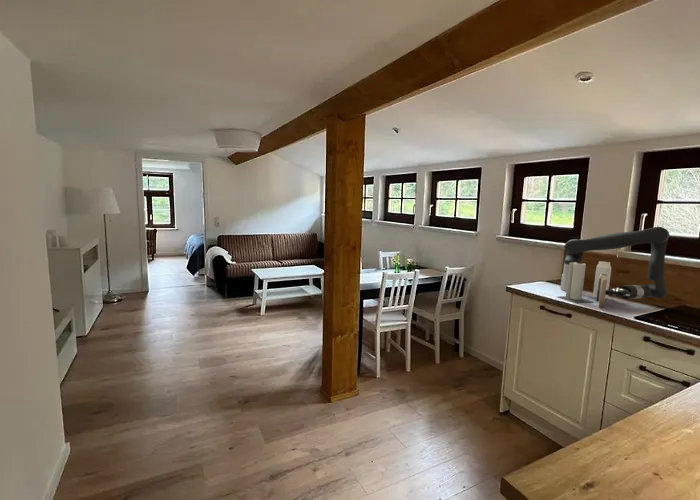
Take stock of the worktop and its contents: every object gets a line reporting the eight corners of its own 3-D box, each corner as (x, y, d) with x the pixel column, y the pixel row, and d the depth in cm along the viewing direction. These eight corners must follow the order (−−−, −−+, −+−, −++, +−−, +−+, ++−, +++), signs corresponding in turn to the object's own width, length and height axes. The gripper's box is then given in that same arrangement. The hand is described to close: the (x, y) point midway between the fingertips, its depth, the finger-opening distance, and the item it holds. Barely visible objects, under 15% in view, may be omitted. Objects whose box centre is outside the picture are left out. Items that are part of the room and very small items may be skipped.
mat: (557, 297, 224) (557, 296, 224) (575, 296, 227) (575, 295, 227) (575, 303, 211) (575, 302, 211) (593, 302, 214) (594, 301, 214)
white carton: (584, 300, 217) (588, 263, 214) (576, 300, 215) (580, 264, 212) (573, 296, 224) (577, 261, 221) (565, 297, 222) (569, 261, 219)
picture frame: (597, 300, 216) (600, 274, 214) (602, 300, 214) (605, 275, 212) (598, 307, 201) (602, 279, 199) (603, 307, 199) (607, 280, 197)
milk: (603, 299, 222) (608, 263, 218) (592, 297, 226) (596, 261, 223) (607, 298, 225) (612, 262, 222) (596, 296, 230) (600, 260, 227)
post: (594, 300, 218) (598, 273, 216) (599, 300, 219) (602, 273, 217) (599, 302, 215) (603, 274, 213) (604, 302, 216) (607, 274, 214)
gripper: (621, 282, 212) (596, 283, 208) (644, 288, 199) (617, 288, 195) (619, 295, 213) (594, 296, 209) (642, 301, 200) (616, 302, 196)
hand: (605, 292), depth 202 cm, fingers closed
